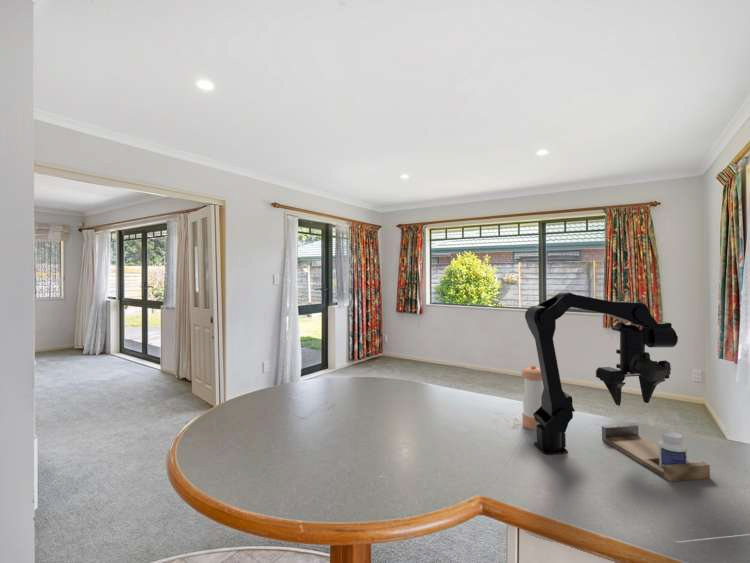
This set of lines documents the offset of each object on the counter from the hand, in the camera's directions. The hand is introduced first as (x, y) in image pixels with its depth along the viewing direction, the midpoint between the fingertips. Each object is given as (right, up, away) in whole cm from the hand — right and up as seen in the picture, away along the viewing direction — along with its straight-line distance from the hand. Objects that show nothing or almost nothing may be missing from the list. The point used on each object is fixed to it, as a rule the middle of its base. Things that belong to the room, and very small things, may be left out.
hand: (632, 404), depth 105 cm
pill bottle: (+1, -12, -13) cm, 18 cm away
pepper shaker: (-20, -13, +17) cm, 29 cm away
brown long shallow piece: (0, -12, -6) cm, 13 cm away
